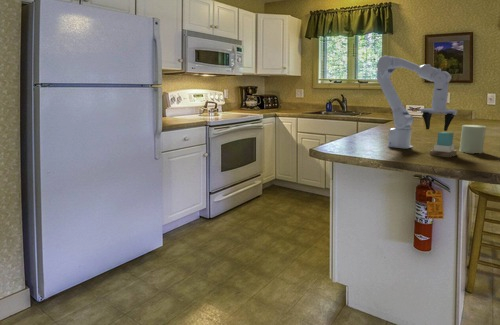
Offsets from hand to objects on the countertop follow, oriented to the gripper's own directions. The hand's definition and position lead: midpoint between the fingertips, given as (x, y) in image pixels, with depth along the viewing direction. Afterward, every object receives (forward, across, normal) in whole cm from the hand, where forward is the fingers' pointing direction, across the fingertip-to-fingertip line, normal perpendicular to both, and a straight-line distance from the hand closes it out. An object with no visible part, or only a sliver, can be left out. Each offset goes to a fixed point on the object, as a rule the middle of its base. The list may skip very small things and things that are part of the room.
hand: (436, 130), depth 165 cm
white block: (+8, +7, -8) cm, 13 cm away
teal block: (+5, +7, -8) cm, 11 cm away
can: (+10, +12, +9) cm, 18 cm away
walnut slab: (+10, +6, -8) cm, 14 cm away
